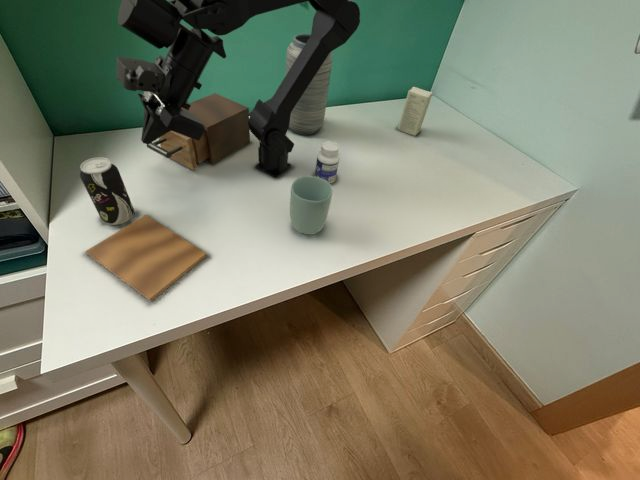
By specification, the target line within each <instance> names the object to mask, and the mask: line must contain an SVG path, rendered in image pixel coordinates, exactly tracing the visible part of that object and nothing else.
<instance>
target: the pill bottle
mask: <svg viewBox="0 0 640 480" xmlns="http://www.w3.org/2000/svg"><path fill="white" fill-rule="evenodd" d="M339 147H340V146H339V144H337V142H334V141H329V140H328V141H327V140H326V141H323V142H322V143H321V146H320V150H319V151H318V153H317V155H316V162H315V170H314V177H319V178H322V179H324V180H326V181H327V182H328V183H329V184H333V183H334V182H335V181H336V179H337V173H338V168H339V165H340V164H339V163H340V154H339V150H340V148H339Z"/></svg>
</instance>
